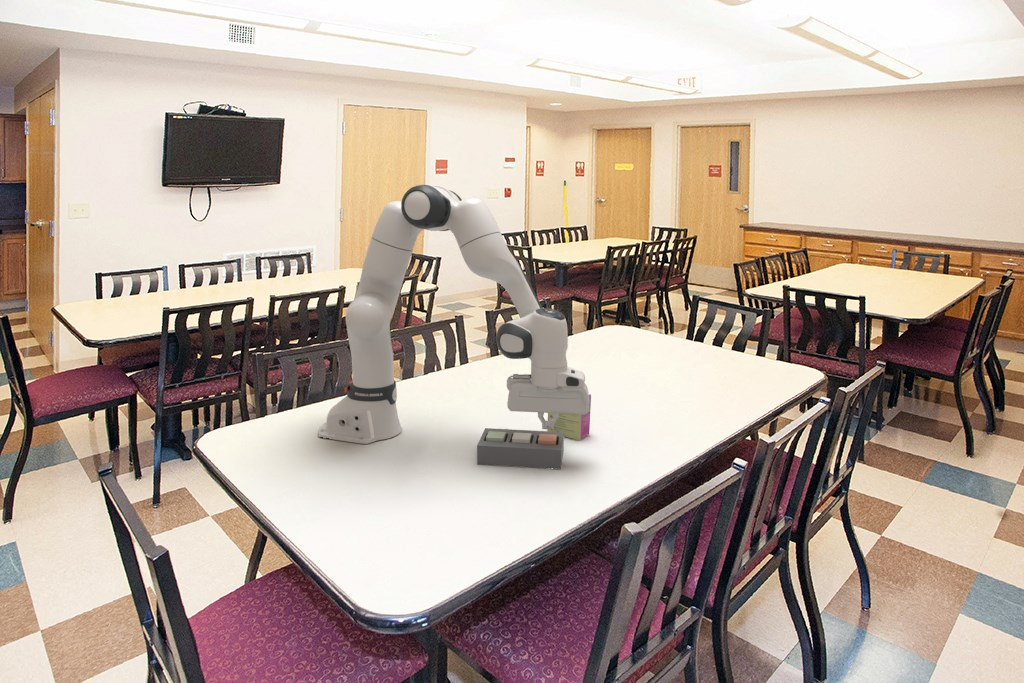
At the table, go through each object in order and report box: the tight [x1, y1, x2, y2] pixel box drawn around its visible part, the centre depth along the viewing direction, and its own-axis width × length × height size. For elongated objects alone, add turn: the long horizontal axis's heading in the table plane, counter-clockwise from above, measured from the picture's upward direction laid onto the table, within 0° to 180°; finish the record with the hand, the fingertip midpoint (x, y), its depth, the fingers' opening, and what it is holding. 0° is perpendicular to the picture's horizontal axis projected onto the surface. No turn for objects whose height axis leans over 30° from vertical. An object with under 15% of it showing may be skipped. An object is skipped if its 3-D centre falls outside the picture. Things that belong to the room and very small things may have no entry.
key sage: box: [486, 431, 506, 442], centre depth 174 cm, size 4×4×2 cm
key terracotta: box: [538, 434, 557, 445], centre depth 172 cm, size 4×4×2 cm
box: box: [546, 393, 592, 441], centre depth 189 cm, size 10×6×12 cm, turn 58°
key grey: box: [512, 432, 531, 443], centre depth 173 cm, size 4×4×2 cm
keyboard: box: [476, 427, 565, 470], centre depth 174 cm, size 21×12×5 cm, turn 83°
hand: (548, 428), depth 172 cm, fingers closed
